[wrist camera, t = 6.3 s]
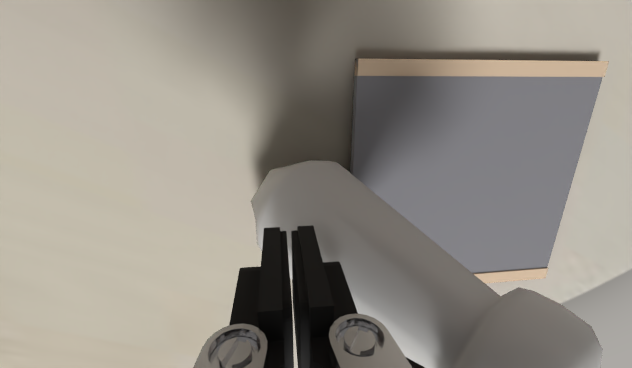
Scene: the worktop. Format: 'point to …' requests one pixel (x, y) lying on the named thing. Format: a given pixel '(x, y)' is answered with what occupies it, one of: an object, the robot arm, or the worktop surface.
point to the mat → (475, 152)
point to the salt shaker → (418, 279)
